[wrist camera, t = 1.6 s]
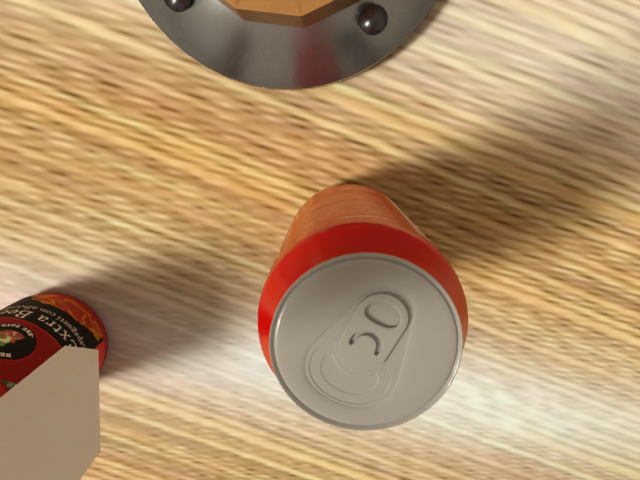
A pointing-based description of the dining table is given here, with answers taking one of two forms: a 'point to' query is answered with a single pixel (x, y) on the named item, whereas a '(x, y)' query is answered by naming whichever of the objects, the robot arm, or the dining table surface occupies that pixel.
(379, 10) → the bolted flange plate
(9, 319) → the canned food
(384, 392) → the soda can
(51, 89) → the dining table surface
